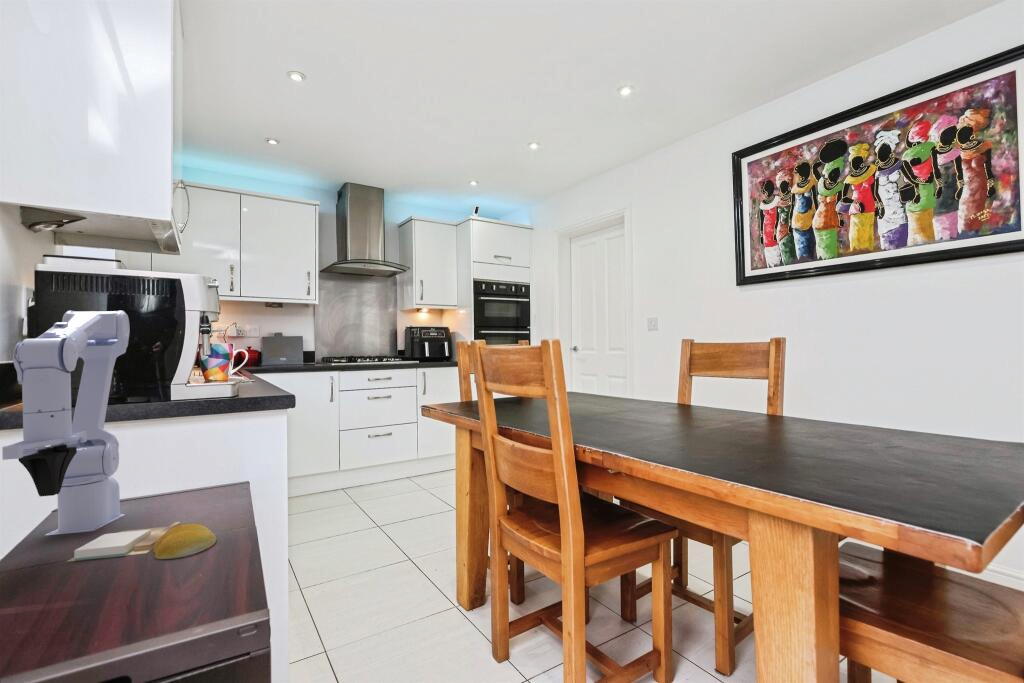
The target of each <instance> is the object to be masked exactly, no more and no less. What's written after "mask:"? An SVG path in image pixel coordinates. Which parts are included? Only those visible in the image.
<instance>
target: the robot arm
mask: <svg viewBox="0 0 1024 683" xmlns="http://www.w3.org/2000/svg"><path fill="white" fill-rule="evenodd" d="M129 338H130V319H129V315H128V314H127V313H126V312H125V311H124V310H113V311H112V310H111V311H110V310H109V311H107V310H106V311H105V310H104V311H100V310H98V311H95V310H94V311H92V310H91V311H90V310H89V311H76V310H75V311H74V310H67V311H66V312H65V313H64V314H63V316H62V320H61V322H59V321H57V322H54V323H53V326H52V327H50V328H48V330H46V331H45V332H43V333H42V334H40V335H39V336H37V337H35V338H25V339H23V340H22V341H18V343H16V344H15V345H14V349H13V355H12V360H13V362H12V363H13V365H14V368H15V370H16V375H17V376H16V377H17V381H18V385H21V388H22V389H21V391H22V393H21V394H22V396H21V397H22V400H21V401H22V429H23V430H22V434H23V436H22V438H23V439H22V440H20V441H19V442H15V443H13V444H12V443H11V444H10V445H5V446H2V454H1V455H2V461H4V460H5V461H6V460H16V459H17V460H18V462H19V463H20V464H21V465H22V466H23V467H24V469H26V471H27V472H28V473H29V475H30V477H31V478H32V481H33V484H34V485H35V488H36V491H37V494H38V496H39V497H49V496H50V497H51V496H55V495H57V496H56V497H57V529H55V530H52V531H50V532H47V533H46V534H45V536H53V535H63V534H64V535H65V534H74V533H84V532H86V533H87V532H94V531H97V530H98V529H101V527H102V528H103V526H105V525H108V524H109V523H112V522H114V521H116V520H118V519H119V518H121V517H124V516H125V515H126V514H124V513H121V499H120V497H121V496H120V484H119V482H118V481H117V479H115V478H114V477H113V475H114V474H115V473H116V472H117V470H118V468H119V464H120V453H119V449H120V448H119V446H120V443H119V441H118V439H117V437H116V436H115V435H114V433H113V434H112V433H111V432H109V431H107V430H105V429H104V427H105V421H106V416H107V415H106V414H107V409H108V402H109V397H110V391H111V390H110V389H111V384H112V378H113V373H114V367H115V364H116V361H117V358H118V357H119V356H121V355H124V354H126V352H127V348H128V346H129ZM79 358H81V359H82V360H83V367H82V372H81V378H80V382H79V388H78V392H77V398H76V402H75V408H74V413H73V417H72V385H71V384H72V383H71V382H72V377H71V372H73V371H75V369H76V367H77V363H78V362H77V361H78V359H79Z"/></svg>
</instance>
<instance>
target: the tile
mask: <svg viewBox="0 0 1024 683" xmlns="http://www.w3.org/2000/svg"><path fill="white" fill-rule="evenodd" d="M150 535H151V530H141V531H131V532H121V533H118V532H113V533H104V534H102V535H100V536H98V537H97V538H95V539H93V540H91V541H89V542H87V543H85V544H84V545H81V546H80V547H78V548H76V549H75V550H73V551H74V552H73V555H74V556H73V558H74V559H75V560H79V561H83V560H82V559H89V560H93V559H92V558H98V559H103V558H102V557H108V558H112V557H111V556H117V557H122V556H121V555H126V554H128V553H129V552H131V551H132V550H134V546H135V545H136V544H138V543H139V542H141V541H143V540H144V539H146V538H147V537H149V536H150Z"/></svg>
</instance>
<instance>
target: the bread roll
mask: <svg viewBox="0 0 1024 683" xmlns="http://www.w3.org/2000/svg"><path fill="white" fill-rule="evenodd" d="M216 542H217V537H216V535H215V534H214V533H213V531H211V530H210V528H208V527H207V526H204V525H202V524H197V523H186V524H181V525H180V526H177V527H174V528H172V529H170V530H169V531H167V532H166V533H164V534H163V535H162V536H161V537H160V538H159V539H158V540H157V541H156V543H155V545H154V548H153V553H154V554H155V555H154V557H155V559H156V560H169V559H170V560H171V559H179V558H183V557H189V556H191V555H195V554H197V553H200V552H203V551H205V550H207V549H210V547H212V546H213V545H215V544H216Z"/></svg>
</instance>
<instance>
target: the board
mask: <svg viewBox="0 0 1024 683" xmlns="http://www.w3.org/2000/svg"><path fill="white" fill-rule="evenodd" d="M167 527H168V526H160V527H151V528H139V529H129V530H120V531H118V532H117V533H121V532H131V531H141V530H151V535H152V534H154V533H156V532H161V531H162V530H164V529H165V528H167ZM152 550H154V548H152V549H150V550H141V551H134V550H132V551H131V552H129V553H128V554H126V555H121V556H120V557H123V556H125V557H126V556H134V555H144V554H146V555H147V554H148V553H149V552H150V551H152ZM115 557H118V556H111V557H110V558H115ZM105 558H106V559H107V558H109V557H102V558H101V559H105ZM96 559H99V558H92V559H91V560H96ZM85 560H86V561H88V560H90V559H82V560H81V561H85ZM77 561H79V562H80V560H75V559H74V557H72V558H70V559H69V560H66V562H77Z"/></svg>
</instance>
